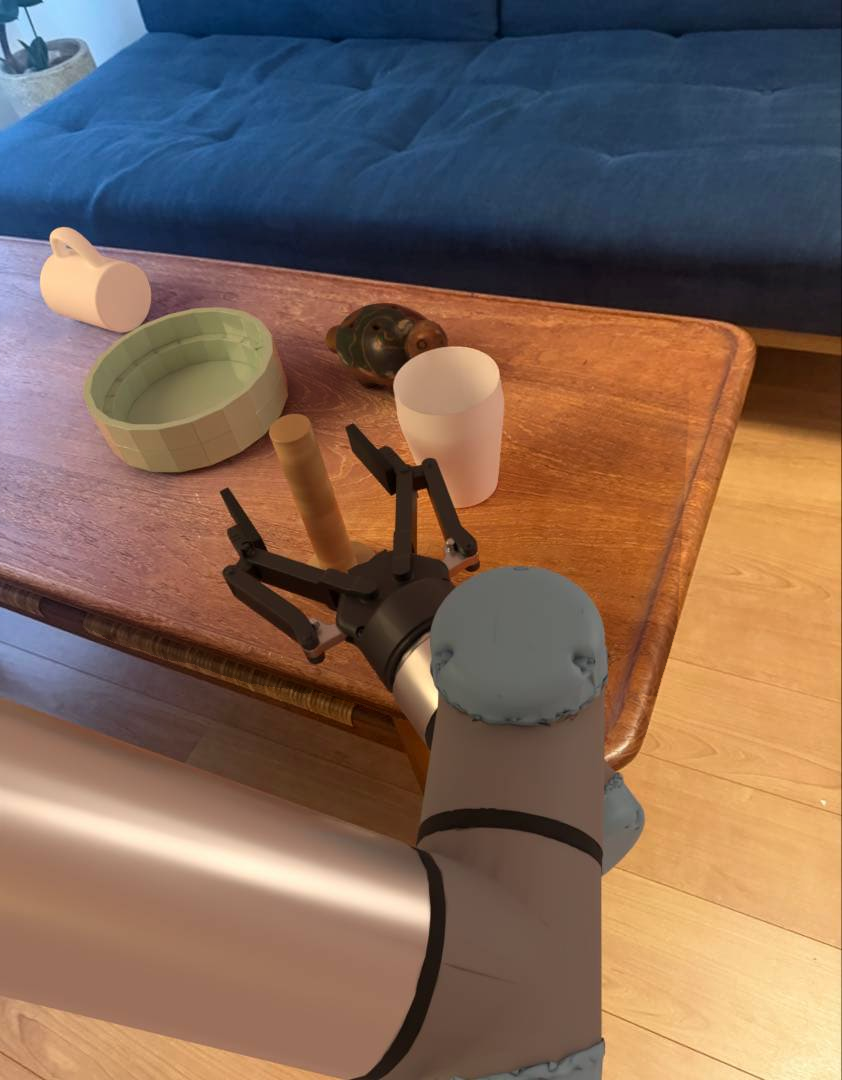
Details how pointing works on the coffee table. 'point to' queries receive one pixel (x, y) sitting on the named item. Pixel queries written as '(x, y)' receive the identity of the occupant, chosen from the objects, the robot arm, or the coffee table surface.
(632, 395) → the coffee table surface
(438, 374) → the cup
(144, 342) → the bowl
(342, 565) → the wooden peg stand
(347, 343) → the decorative turtle
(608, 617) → the coffee table surface
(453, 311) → the coffee table surface
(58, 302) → the mug
